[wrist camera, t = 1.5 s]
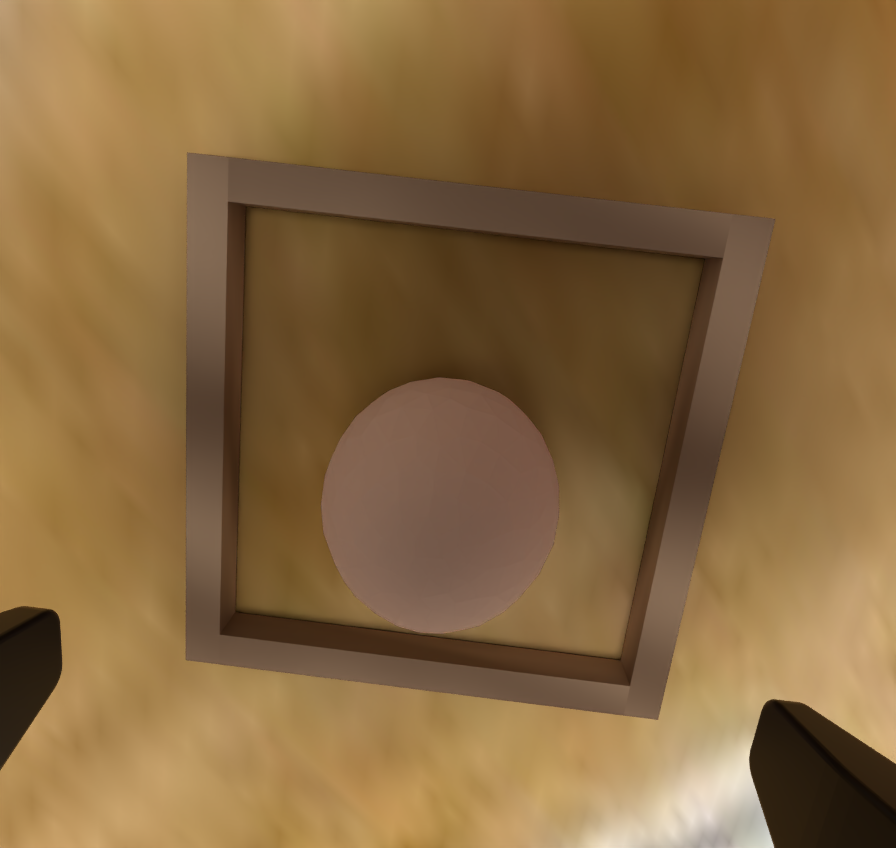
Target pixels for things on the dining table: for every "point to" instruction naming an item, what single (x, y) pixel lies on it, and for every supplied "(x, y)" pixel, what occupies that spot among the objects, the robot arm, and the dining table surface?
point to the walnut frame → (482, 211)
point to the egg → (440, 505)
